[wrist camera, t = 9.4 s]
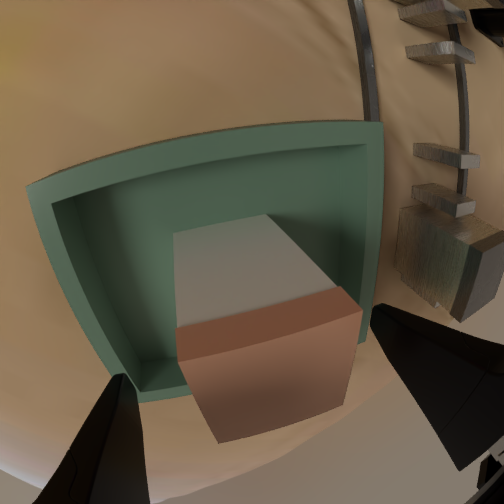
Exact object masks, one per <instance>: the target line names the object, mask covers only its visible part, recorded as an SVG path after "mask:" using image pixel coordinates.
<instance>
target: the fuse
mask: <svg viewBox="0 0 504 504" xmlns="http://www.w3.org/2000/svg"><path fill="white" fill-rule="evenodd" d="M173 250H174V282H175V301H176V317H177V328H175V335H176V348H177V359H178V364H179V366H180V368H181V371H182V373H183V375H184V377H185V379H186V381H187V384H188V386H189V388H190V390H191V392H192V394H193V396H194V398H195V400H196V402H197V404H198V406H199V408H200V410H201V412H202V414H203V416H204V418H205V420H206V422H207V424H208V426H209V427H210V429H211V431H212V433H213V435H214V437H215V438H216V440H217V442H218V444H219V443H224V442H229V441H233V440H237V439H241V438H246V437H250V436H253V435H257V434H261V433H264V432H268V431H271V430H275V429H278V428H281V427H284V426H287V425H291V424H294V423H297V422H299V421H302V420H305V419H308V418H311V417H313V416H316V415H319V414H321V413H324V412H327V411H329V410H332V409H334V408H336V407H339V406H341V405H343V402H344V399H345V395H346V391H347V387H348V383H349V379H350V375H351V370H352V366H353V361H354V357H355V352H356V347H357V342H358V337H359V331H360V326H361V320H362V314H363V309H362V308H361V307H360V306H359V305H358V304H357V303H356V302H355V301H354V300H353V299H352V298H351V297H350V296H349V295H348V294H347V293H346V292H345V291H344V289H343V288H342V287H341V286H339V287H337V286H336V285H335V284H334V283H333V282H332V281H331V279H330V278H329V277H328V276H327V275H326V274H325V273H324V272H323V271H322V270H321V269H320V268H319V267H318V266H317V265H316V264H315V263H314V262H313V261H312V260H311V259H310V258H309V257H308V256H307V255H306V254H305V253H304V252H303V251H302V250H301V249H300V248H299V246H298V245H297V244H296V243H295V242H294V241H293V240H292V239H291V238H290V237H289V236H288V235H287V234H286V233H285V232H284V231H283V230H282V229H281V228H280V227H279V226H278V225H277V224H276V223H275V222H274V221H273V220H272V219H270V218H269V217H268V216H267V215H266V214H263V215H258V216H253V217H248V218H243V219H238V220H233V221H228V222H223V223H218V224H213V225H208V226H204V227H199V228H194V229H190V230H185V231H180V232H176V233H173Z"/></svg>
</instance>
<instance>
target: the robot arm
mask: <svg viewBox="0 0 504 504" xmlns="http://www.w3.org/2000/svg"><path fill="white" fill-rule="evenodd" d="M469 10H470V13H471V17H472V21H473V24H474V27H475V28H476V29H477V30H478V31H479V32H481V33H482V34H484V35H485V36H486V37H488V38H489V39H491V40H492V41H493V42H495V43H496V44H497V45H498V46H500V47H504V44H503V39H502V37H504V8H478V9H469ZM370 327H371V329H372V331H373V333H374V335H375V337H376V338H377V340H378V342H379V344H380V346H381V348H382V349H383V351H384V353H385V355H386V357H387V358H388V360H389V361H390V363H391V364H392V366H393V367H394V369H395V370H396V372H397V373H398V375H399V376H400V378H401V379H402V381H403V382H404V384H405V385H406V387H407V388H408V390H409V391H410V393H411V394H412V396H413V397H414V399H415V400H416V402H417V404H418V405H419V407H420V408H421V410H422V411H423V413H424V414H425V416H426V417H427V419H428V421H429V422H430V424H431V426H432V427H433V429H434V430H435V432H436V434H437V435H438V437H439V439H440V441H441V442H442V444H443V445H444V447H445V449H446V450H447V452H448V454H449V455H450V457H451V459H452V461H453V462H454V464H455V466H456V468H457V469H458V471H461V470H463V469H464V468H465V467H467V466H468V465H469V464H471V463H472V462H473V461H474V460H476V459H477V458H478V457H480V456H481V455H482V454H483V453H484V452H486V451H487V450H488V451H489V452H490V454H489V455H488V456H487V457H486V458H485V459H484V460H483V461H482V462H481V465H480V472H479V477H478V483H477V488H478V489H479V491H478V492H477V493H476V494H475V495H474V496H473V497H472V498H470V499H469V500H468V501H467V502H466V503H465V504H504V345H502V344H499V343H494V342H490V341H487V340H484V339H480V338H477V337H474V336H471V335H468V334H466V333H463V332H460V331H458V330H455V329H452V328H449V327H447V326H444V325H441V324H439V323H436V322H433V321H430V320H428V319H425V318H422V317H420V316H417V315H414V314H411V313H409V312H406V311H403V310H401V309H398V308H395V307H392V306H390V305H387V304H384V303H381V304H378V305H376V306H374V307H373V308H372V313H371V319H370ZM32 504H150V499H149V492H148V484H147V476H146V466H145V456H144V443H143V430H142V424H141V418H140V412H139V405H138V398H137V392H136V389H135V387H134V385H133V383H132V382H131V380H130V379H129V377H128V376H127V374H125V373H119V374H114V375H113V377H112V378H111V380H110V381H109V383H108V384H107V386H106V388H105V389H104V391H103V392H102V394H101V396H100V397H99V399H98V400H97V402H96V404H95V405H94V407H93V409H92V410H91V412H90V414H89V415H88V417H87V419H86V420H85V422H84V424H83V425H82V427H81V429H80V430H79V432H78V434H77V436H76V437H75V439H74V441H73V442H72V444H71V446H70V450H68V451H67V453H66V455H65V456H64V458H63V460H62V462H61V463H60V465H59V467H58V468H57V470H56V471H55V473H54V474H53V476H52V477H51V479H50V480H49V482H48V483H47V484H46V486H45V487H44V489H43V490H42V492H41V493H40V495H39V496H38V498H37V499H36V500H35V501H34V502H33V503H32Z"/></svg>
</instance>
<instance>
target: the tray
mask: <svg viewBox="0 0 504 504" xmlns="http://www.w3.org/2000/svg"><path fill="white" fill-rule="evenodd" d="M26 191H27V195H28V198H29V202H30V205H31V209H32V212H33V215H34V219H35V222H36V225H37V228H38V231H39V234H40V236H41V239H42V242H43V245H44V247H45V250H46V253H47V255H48V258H49V260H50V263H51V265H52V267H53V270H54V272H55V274H56V277H57V279H58V281H59V283H60V286H61V288H62V290H63V292H64V294H65V296H66V298H67V300H68V302H69V304H70V306H71V308H72V310H73V312H74V314H75V316H76V318H77V320H78V322H79V324H80V325H81V327H82V329H83V331H84V333H85V334H86V336H87V338H88V340H89V341H90V343H91V345H92V346H93V348H94V350H95V351H96V353H97V354H98V356H99V358H100V359H101V361H102V362H103V364H104V365H105V367H106V368H107V370H108V371H109V373H110V374H111V376H112V377H113V375H114V374H119V373H125V374H127V376H128V377H129V379H130V380H131V382H132V383H133V385H134V387H135V389H136V392H137V398H138V403H143V402H150V401H157V400H163V399H170V398H175V397H181V396H186V395H191V394H192V392H191V390H190V388H189V386H188V384H187V381H186V379H185V377H184V375H183V373H182V371H181V368H180V366H179V364H178V359H177V348H176V335H175V328H177V317H176V301H175V282H174V250H173V233H176V232H180V231H185V230H190V229H194V228H199V227H204V226H208V225H213V224H218V223H223V222H228V221H233V220H238V219H243V218H248V217H253V216H258V215H263V214H266V215H267V216H268V217H269V218H270V219H272V220H273V221H274V222H275V223H276V224H277V225H278V226H279V227H280V228H281V229H282V230H283V231H284V232H285V233H286V234H287V235H288V236H289V237H290V238H291V239H292V240H293V241H294V242H295V243H296V244H297V245H298V246H299V248H300V249H301V250H302V251H303V252H304V253H305V254H306V255H307V256H308V257H309V258H310V259H311V260H312V261H313V262H314V263H315V264H316V265H317V266H318V267H319V268H320V269H321V270H322V271H323V272H324V273H325V274H326V275H327V276H328V277H329V278H330V279H331V281H332V282H333V283H334V284H335V285H336V286H337V287H339V286H341V287H342V288H343V289H344V291H345V292H346V293H347V294H348V295H349V296H350V297H351V298H352V299H353V300H354V301H355V302H356V303H357V304H358V305H359V306H360V307H361V308H362V309H363V314H362V320H361V326H360V331H359V337H358V342H357V344H360V343H362V342H365V340H366V335H367V330H368V325H369V320H370V314H371V309H372V303H373V297H374V290H375V283H376V276H377V268H378V260H379V251H380V240H381V228H382V214H383V193H384V133H383V122H376V121H362V120H313V121H295V122H282V123H270V124H260V125H251V126H243V127H235V128H228V129H222V130H215V131H209V132H203V133H197V134H192V135H187V136H182V137H177V138H172V139H167V140H163V141H158V142H154V143H150V144H146V145H142V146H138V147H134V148H130V149H126V150H122V151H119V152H115V153H112V154H108V155H105V156H102V157H99V158H95V159H92V160H89V161H86V162H83V163H80V164H77V165H74V166H71V167H69V168H66V169H63V170H60V171H58V172H55V173H53V174H50V175H48V176H46V177H44V178H42V179H40V180H38V181H36V182H34V183H32V184H30V185H28V186H26Z"/></svg>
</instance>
